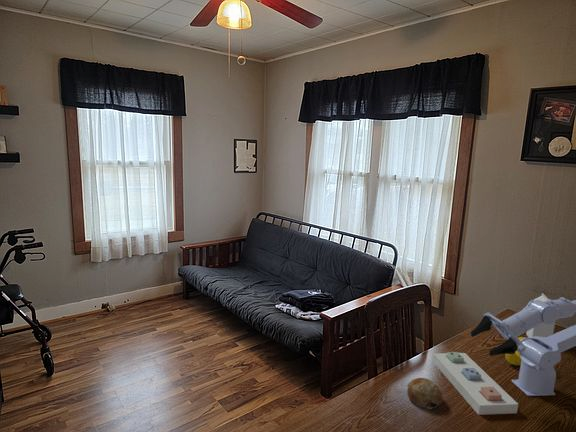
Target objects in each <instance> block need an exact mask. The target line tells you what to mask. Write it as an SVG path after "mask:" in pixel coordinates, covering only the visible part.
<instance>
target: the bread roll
mask: <svg viewBox="0 0 576 432" xmlns="http://www.w3.org/2000/svg"><path fill="white" fill-rule="evenodd" d="M406 387H407V390H406V391H407V396H408V399H409V400H410V401H411V402H412V403H413V404H415V405H416V406H418V407H420V408H423V409H426V410H433V409H435V408H437V407H440V406H441V405H442V403H443V398H444V397H443V393H442V391H441V389H440V388H439V386H437V384H436V383H435V382H434V381H432V380H430V379H429V378H428V379H427V378H425V377H417V378H414V379H411V380H410V382H408V384H407V385H406Z"/></svg>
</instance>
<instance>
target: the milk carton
mask: <svg viewBox="0 0 576 432" xmlns="http://www.w3.org/2000/svg"><path fill="white" fill-rule="evenodd" d="M533 300H534V301H535V300H540V301H542V302H544V301H547V300H551V299H549V298H548V297H547V296H546V295H545V294H544V293H543V292H542V293H541V295H540V296H539V297H538V296H537V297H536V298H535V299H533ZM555 326H556V321H555V322H554V323H553V324H546V323H544V322H543V323H542V324H540V325H538V326H536V327H534V328H532V329H530V330H528V331H527V332H525V334H526V337H528V338H531V337H534V336H539V337H548V336H551V335H553V334H554V331H555Z"/></svg>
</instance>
